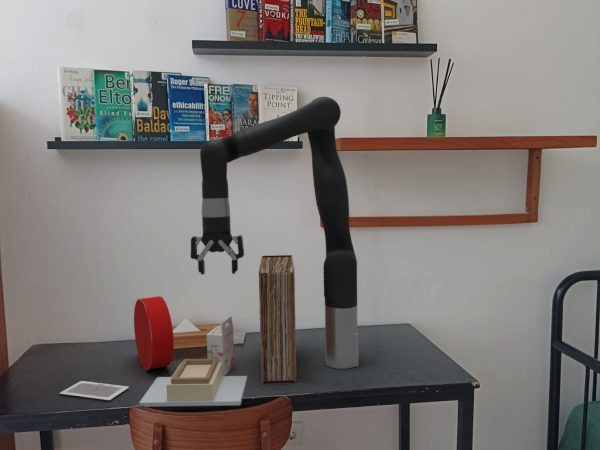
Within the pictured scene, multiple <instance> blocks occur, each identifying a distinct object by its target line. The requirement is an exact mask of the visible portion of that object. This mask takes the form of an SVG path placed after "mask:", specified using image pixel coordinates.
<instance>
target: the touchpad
mask: <svg viewBox="0 0 600 450" xmlns="http://www.w3.org/2000/svg"><path fill="white" fill-rule="evenodd" d="M129 388H130V386H127V385H126V386H125V385H118V384H111V383H110V384H109V383H100V382H96V381H95V382H93V381H84V380H81V381H80V380H79V382H77V383H75V384H73V385H71V386H70V387H67V388H66V389H64V390H62V391H60V392H59V394H62V395H68V396H76V397H77V396H78V397H82V398H90V399H98V400H105V401H111V400H112V399H114V398H116V396H117V397H118V395H120V394H122V392H124V391H126V390H127V389H129Z"/></svg>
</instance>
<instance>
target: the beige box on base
mask: <svg viewBox="0 0 600 450" xmlns="http://www.w3.org/2000/svg"><path fill="white" fill-rule="evenodd" d="M247 382H248V375H225V376H223V373H222V362H218V359H208V358H186V359H185V358H184V359H183V360H182V361H181V362H180V363H179V364H178V366H177V368H176V370H175V371H174V373H173V374H172V375H171V376H157V377H156V379H155V380H154V381H153V382H152V384H151V386H150V387H149V389H147V391H146V392H145V394H144V395H143V397H142V398H141V399H140V401H139V403H138V407H139V406H144V408H145V407H148V408H149V407H153V408H155V407H156V408H157V407H207V406H208V407H213V406H214V407H215V406H216V407H217V406H218V407H219V406H220V407H221V406H223V407H224V406H241V404H242V401H243V399H244V398H243V397H244V393H245V390H246V386H247Z"/></svg>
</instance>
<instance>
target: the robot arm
mask: <svg viewBox="0 0 600 450" xmlns="http://www.w3.org/2000/svg"><path fill="white" fill-rule="evenodd" d="M341 113H342V111H341V107H340V104H338V102H337V101H336V100H335V99H333V98H332V97H329V96H319V97H317V98H314V99H313V100H311V101H309V103H306V104H305V105H303V106H302V107H300V108H298V109H295V110H293V111H292V112H289V113H286V114H284V115H282V116H280V117H279V116H278V117H276V118H273V119H270V120H267V121H264V122H260V123H257V124H254V125H251V126H249V127H246V128H243V129H241V130H238V131H236V132H234V133H233V134H231V135H227V136H225V137H222V138H219V139H209V140H207V141H206V142H204V143H203V144H202V145H201V148H200V152H199V154H200V155H199V157H200V167H201V168H200V169H201V176H202V181H201V196H202V202H201V218H202V219H201V220H202V221H201V226H202V236H196V235H194V236H192V237H191V238H190V259H191V260H192V259H193V260H196V261H197V264H198V265H197V268H198V269H197V271H198V273H200V275H205V273H206V268H205V267H206V266H205V260H204V258H205V256H206V255H207V254H208V253H209V252H210V253H216V252H218V253H224V252H225V254H227V255H228V256H229V257H230V259H231V274H233V275H234V274H235V275H236V272H237V271H239V270H238V269H239V267H238V266H239V264H238V262H239V259H241V258H243V257H244V255H245V249H244V248H245V247H244V241H243V240H244V238H243V235H242V234H239V235H236V236H235V235H234V236H233V235H232V232H231V230H232V229H231V209H230V207H231V206H230V200H229V182H228V175H227V174H228V163H231V162H233V161H234V160H238V159H240V158H243V157H247V156H250V155H253V154H257V153H259V152H261V151H265V150H266V149H269V148H271V147H274V146H276V145H278V144H280V143H283V142H285V141H287V140H289V139H291V138H293V137H296V136H299V135H303V134H306V133H307V137H308V141H309V142H308V143H309V147H310V151H311V152H310V153H311V165H312V178H313V189H314V196H315V202H316V207H317V210H318V211H317V212H318V214H319V218H320V222H321V224H322V228H323V231H324V232H323V233H324V239H325V240H324V241H325V259H324V262H323V297H324V329H325V330H324V341H325V342H324V345H325V346H324V347H325V351H324V353H325V355H324V359H325V365H326V366H328V367H329V368H331V369H332V368H333V369H341V370H347V369H352V368H354V367H359V332H358V260H357V256H356V254H355V249H354V245H353V241H352V236H351V229H350V203H349V202H350V201H349V190H348V184H347V183H348V182H347V177H346V174H345V170H344V167H343V164H342V162H341V159H340V157H339V153H338V150H337V145H336V131H335V130H336V128H335V127H336V126H337V125H338V122H339V121H340V119H341ZM233 241H234V243H235V244H236V245H237V252H238V253H236V252H235V251H234V249H233V248H232V246H231V243H232V242H233ZM201 242H202V244H203V245H204V248H203V249H202V250H201V252H200V254H198V245H199V244H200V243H201Z"/></svg>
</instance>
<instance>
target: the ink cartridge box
mask: <svg viewBox="0 0 600 450" xmlns="http://www.w3.org/2000/svg"><path fill="white" fill-rule="evenodd" d="M233 323H234V322H233V319H232V316H229V317H227V319H225V320H224V321H223V322H221V324H220V325H217V326H215V327H214V328H213V329H212V330H210V331H209V332H207V333H206V336H205V337H206V349H207V350H206V353H207V359H218V362H222V373H223V376H227V374H228V373H229V372H230V371H231V369H232V368H233V367H234V366H235V348H234V347H235V346H234V345H235V344H234V343H235V341H234V325H233Z"/></svg>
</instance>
